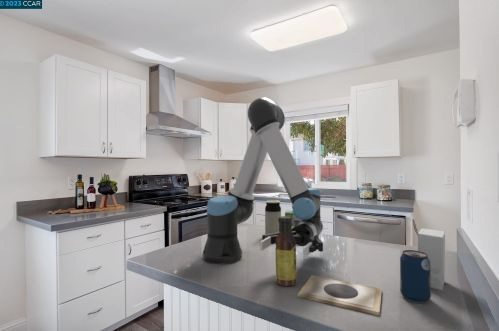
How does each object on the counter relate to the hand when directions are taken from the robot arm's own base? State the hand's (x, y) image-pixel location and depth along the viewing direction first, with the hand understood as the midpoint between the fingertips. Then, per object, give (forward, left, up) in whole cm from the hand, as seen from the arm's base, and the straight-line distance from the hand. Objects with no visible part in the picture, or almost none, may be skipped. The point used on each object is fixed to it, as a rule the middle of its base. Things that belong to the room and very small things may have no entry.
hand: (281, 249), depth 80 cm
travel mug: (-25, +51, -11) cm, 58 cm away
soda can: (+34, +10, -11) cm, 37 cm away
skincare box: (+39, +23, -11) cm, 47 cm away
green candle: (-18, +63, -11) cm, 67 cm away
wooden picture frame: (+16, +3, -11) cm, 20 cm away
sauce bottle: (0, +3, -11) cm, 12 cm away
